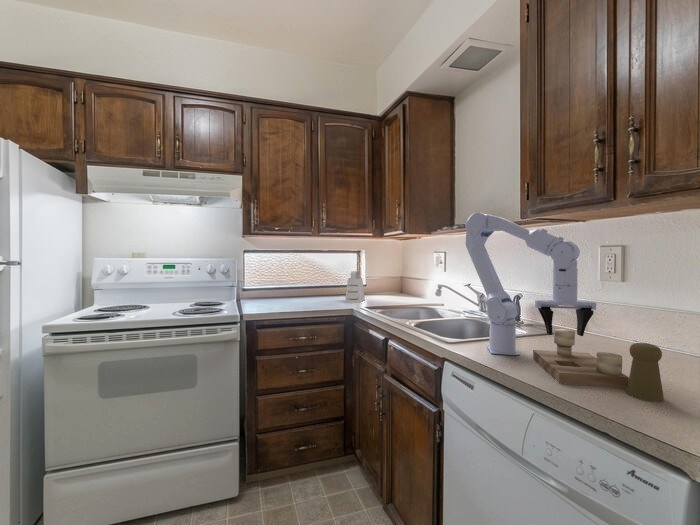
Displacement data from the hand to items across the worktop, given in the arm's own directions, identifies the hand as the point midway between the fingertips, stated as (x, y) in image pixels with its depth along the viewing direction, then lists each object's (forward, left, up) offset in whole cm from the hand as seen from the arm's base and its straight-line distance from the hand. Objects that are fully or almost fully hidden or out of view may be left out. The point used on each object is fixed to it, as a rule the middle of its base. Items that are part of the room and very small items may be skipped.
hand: (564, 334), depth 95 cm
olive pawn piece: (+21, +8, -8) cm, 24 cm away
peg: (0, 0, -5) cm, 5 cm away
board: (+7, 0, -8) cm, 10 cm away
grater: (-113, -82, -8) cm, 140 cm away
